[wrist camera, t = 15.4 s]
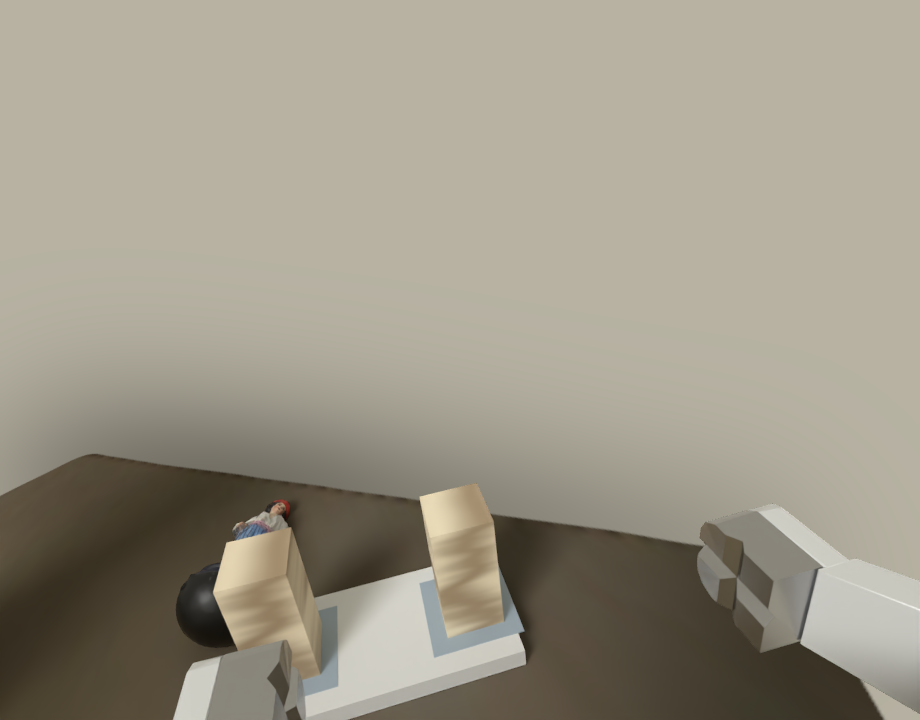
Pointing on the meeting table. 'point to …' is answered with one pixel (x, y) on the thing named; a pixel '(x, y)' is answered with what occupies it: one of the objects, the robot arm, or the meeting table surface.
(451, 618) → the loose pillar
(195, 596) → the figurine
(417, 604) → the white base board
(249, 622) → the standing pillar
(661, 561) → the meeting table surface
